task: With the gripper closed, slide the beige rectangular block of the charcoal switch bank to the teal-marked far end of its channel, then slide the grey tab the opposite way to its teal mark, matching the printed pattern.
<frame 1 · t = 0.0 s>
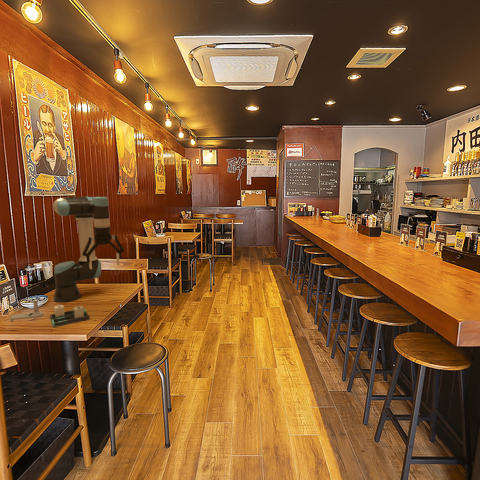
hand: (104, 266, 161), 28 cm above the table, fingers open, 13 cm apart
beige rectangular block: (59, 311, 161), point 5 cm above the table, slide at -4.0 cm
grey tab: (78, 312, 160), point 5 cm above the table, slide at 4.0 cm
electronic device: (27, 319, 163), on the table
switch bank: (69, 320, 161), on the table
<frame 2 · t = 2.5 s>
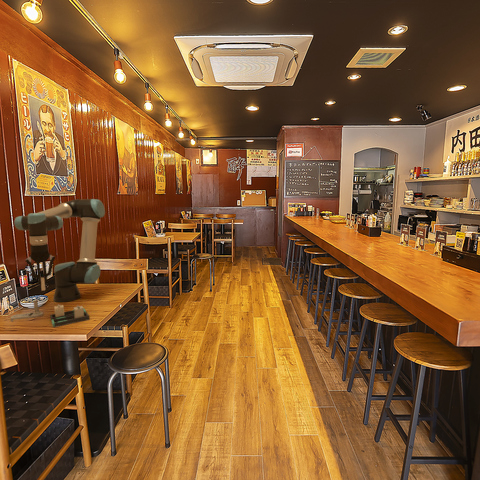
hand: (43, 289, 156), 18 cm above the table, fingers closed
nothing on the table moved.
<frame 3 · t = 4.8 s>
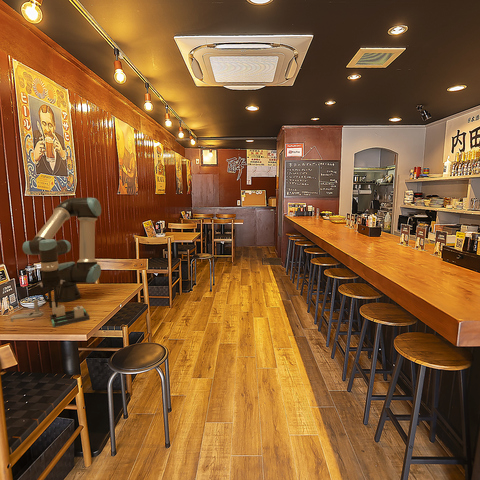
hand: (54, 313, 160), 4 cm above the table, fingers closed
beige rectangular block: (60, 311, 162), point 5 cm above the table, slide at -3.6 cm, touching gripper
everything else where it was.
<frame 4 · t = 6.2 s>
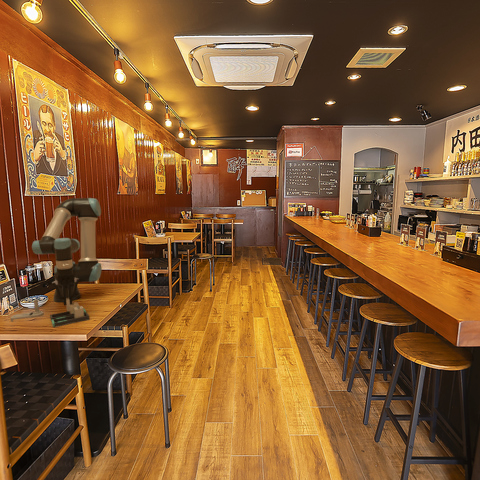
hand: (68, 310, 164), 4 cm above the table, fingers closed
beige rectangular block: (74, 308, 165), point 5 cm above the table, slide at 3.0 cm, touching gripper
everything else where it was.
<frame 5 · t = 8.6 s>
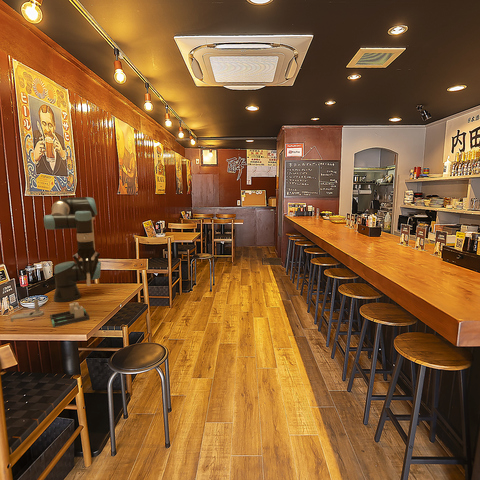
hand: (88, 285, 161), 18 cm above the table, fingers closed
beige rectangular block: (74, 308, 166), point 5 cm above the table, slide at 3.1 cm
everything else where it was.
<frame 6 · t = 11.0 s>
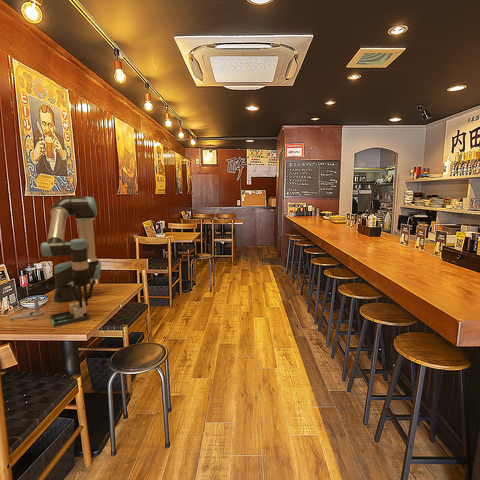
hand: (84, 312, 161), 4 cm above the table, fingers closed
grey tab: (78, 312, 160), point 5 cm above the table, slide at 3.8 cm, touching gripper
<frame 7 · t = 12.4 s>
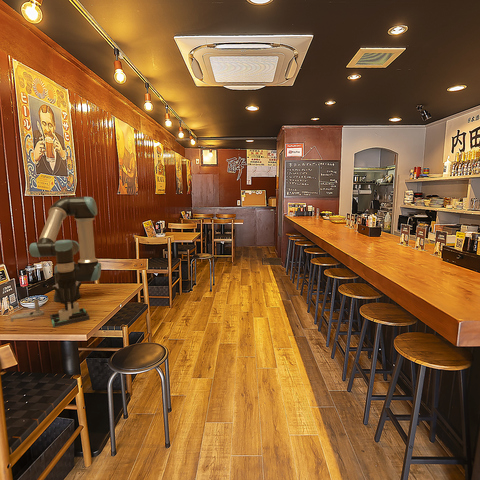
hand: (69, 315, 157), 4 cm above the table, fingers closed
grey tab: (63, 315, 156), point 5 cm above the table, slide at -2.9 cm, touching gripper
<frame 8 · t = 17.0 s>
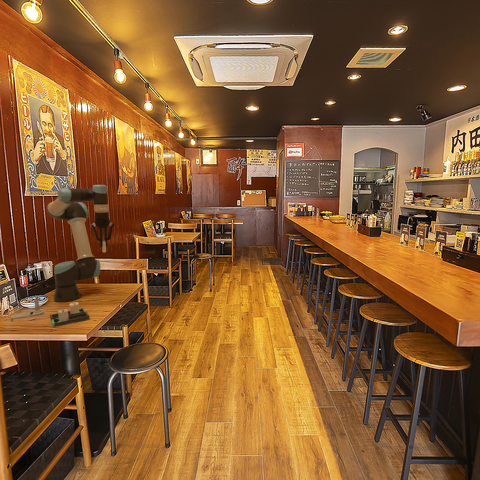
hand: (104, 252, 180), 32 cm above the table, fingers closed
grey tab: (63, 315, 156), point 5 cm above the table, slide at -3.1 cm
at the end: beige rectangular block slide at 3.1 cm; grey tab slide at -3.1 cm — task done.
